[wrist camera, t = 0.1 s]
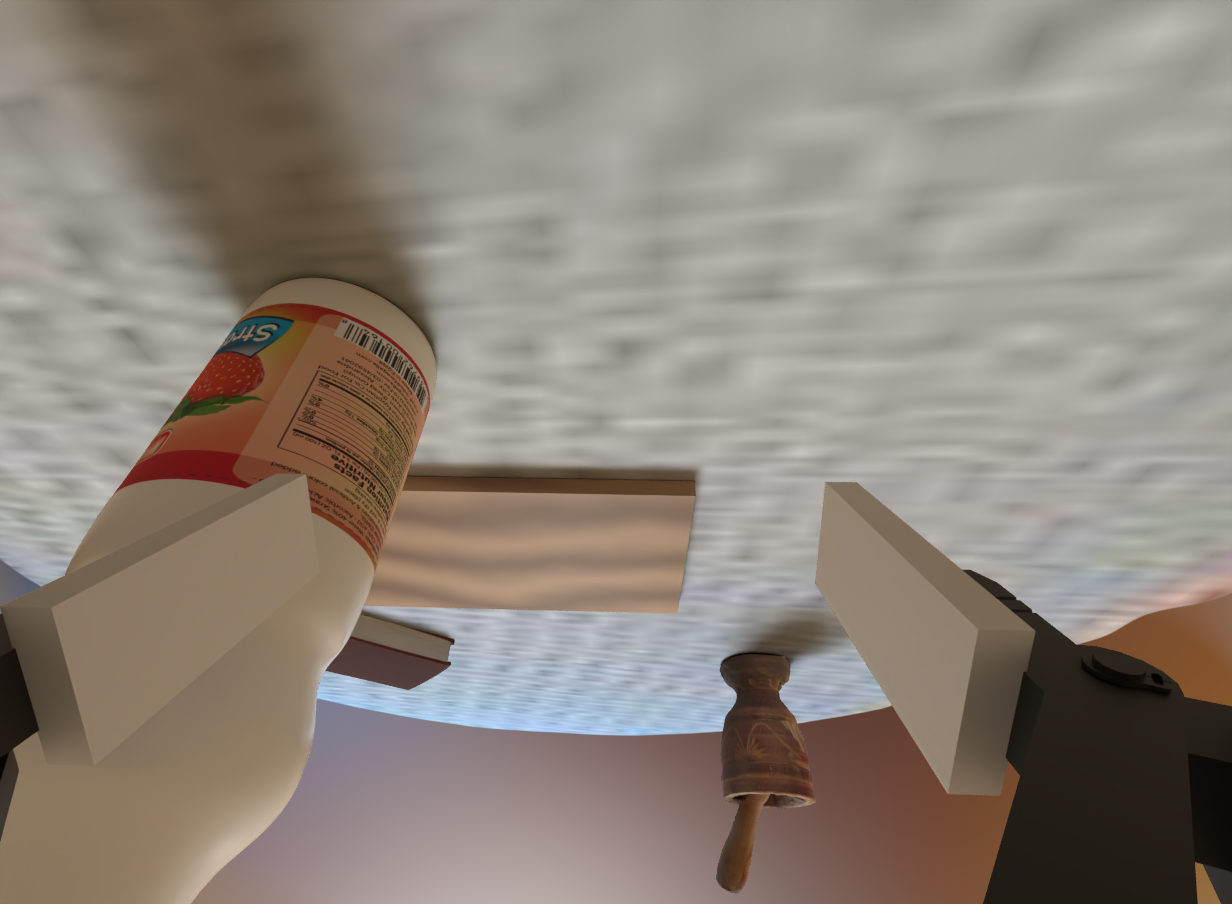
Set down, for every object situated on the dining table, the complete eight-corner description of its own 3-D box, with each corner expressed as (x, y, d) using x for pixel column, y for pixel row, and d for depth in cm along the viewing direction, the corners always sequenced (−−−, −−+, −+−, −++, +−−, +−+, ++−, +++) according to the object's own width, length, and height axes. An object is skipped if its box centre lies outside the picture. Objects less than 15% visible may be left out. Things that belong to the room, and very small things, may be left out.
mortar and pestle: (763, 688, 70) (789, 897, 57) (694, 681, 69) (705, 892, 56) (806, 655, 61) (849, 892, 48) (728, 646, 60) (751, 887, 47)
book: (413, 666, 69) (406, 694, 67) (238, 623, 61) (224, 654, 59) (458, 635, 62) (452, 666, 60) (264, 581, 53) (248, 614, 51)
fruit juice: (416, 431, 35) (180, 1125, 17) (246, 371, 32) (-263, 1157, 14) (464, 324, 29) (168, 1249, 11) (258, 235, 25) (-653, 1364, 8)
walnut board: (165, 472, 39) (155, 486, 39) (694, 481, 38) (695, 496, 37) (285, 591, 53) (280, 603, 52) (677, 600, 52) (677, 613, 51)
